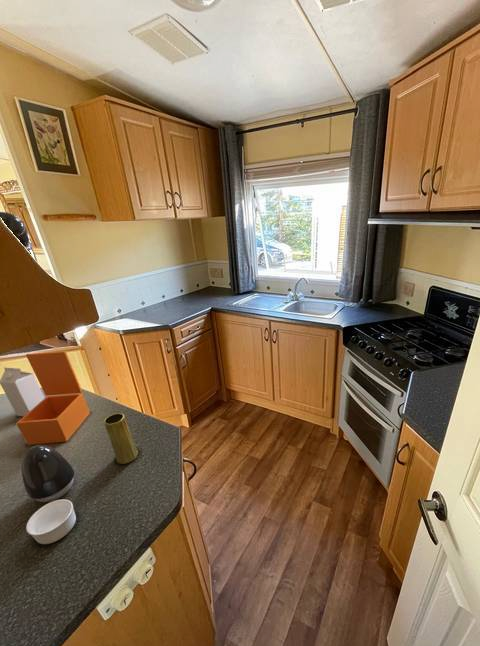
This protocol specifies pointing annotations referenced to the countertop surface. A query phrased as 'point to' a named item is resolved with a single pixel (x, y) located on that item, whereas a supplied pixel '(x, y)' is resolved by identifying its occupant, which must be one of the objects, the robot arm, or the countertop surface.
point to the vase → (120, 438)
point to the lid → (54, 373)
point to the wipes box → (54, 419)
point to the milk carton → (21, 390)
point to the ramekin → (52, 521)
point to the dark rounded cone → (46, 473)
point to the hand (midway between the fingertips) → (49, 328)
